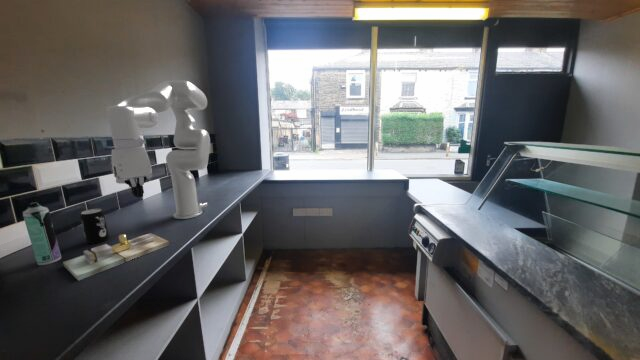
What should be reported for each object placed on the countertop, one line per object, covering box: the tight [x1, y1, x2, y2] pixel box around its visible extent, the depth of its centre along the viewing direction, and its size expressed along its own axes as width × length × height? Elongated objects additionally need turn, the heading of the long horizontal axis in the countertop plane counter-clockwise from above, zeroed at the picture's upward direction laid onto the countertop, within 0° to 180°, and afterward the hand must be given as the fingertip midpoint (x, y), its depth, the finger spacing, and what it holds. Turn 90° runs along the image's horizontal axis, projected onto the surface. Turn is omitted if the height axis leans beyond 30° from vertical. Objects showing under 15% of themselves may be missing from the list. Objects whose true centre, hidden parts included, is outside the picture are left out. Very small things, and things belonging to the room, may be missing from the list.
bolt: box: [91, 233, 131, 261], centre depth 83 cm, size 10×2×5 cm, turn 147°
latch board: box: [62, 232, 170, 282], centre depth 85 cm, size 25×14×5 cm, turn 147°
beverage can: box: [79, 208, 110, 245], centre depth 95 cm, size 7×7×12 cm
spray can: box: [22, 201, 62, 266], centre depth 80 cm, size 6×6×20 cm
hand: (138, 196), depth 88 cm, fingers closed
